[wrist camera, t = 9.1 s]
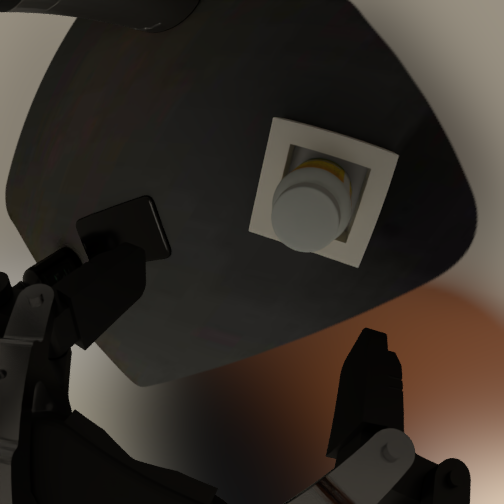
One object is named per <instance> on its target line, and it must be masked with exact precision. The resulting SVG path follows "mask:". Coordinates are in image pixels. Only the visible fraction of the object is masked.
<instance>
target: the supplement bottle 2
mask: <svg viewBox="0 0 504 504" xmlns="http://www.w3.org/2000/svg"><path fill="white" fill-rule="evenodd" d="M351 210H352V187H351V181H350V178H349V176H348V174H347V173H346V171H345V170H344V169H343V168H342V167H341V166H340V165H339V164H337V163H336V162H334V161H332V160H329V159H325V158H313V159H309V160H307V161H305V162H303V163H302V164H300V165H299V166H298V167H296V168H295V169H294V170H293V171H291V172H290V173H289V174H288V175H286V176H285V177H284V178H283V179H282V180H281V181H280V183H279V184H278V186H277V188H276V190H275V192H274V195H273V200H272V214H271V221H272V226H273V229H274V232H275V234H276V235H277V237H278V238H279V239H280V240H281V242H283V243H284V244H285V245H286V246H288V247H289V248H291V249H293V250H296V251H300V252H314V251H318V250H320V249H323V248H324V247H326V246H327V245H329V244H330V243H331V242H332V241H333V240H334V239H336V238H337V237H338V236H340V235H341V234H342V232H343V231H344V230H345V228H346V227H347V225H348V223H349V220H350V217H351Z"/></svg>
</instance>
